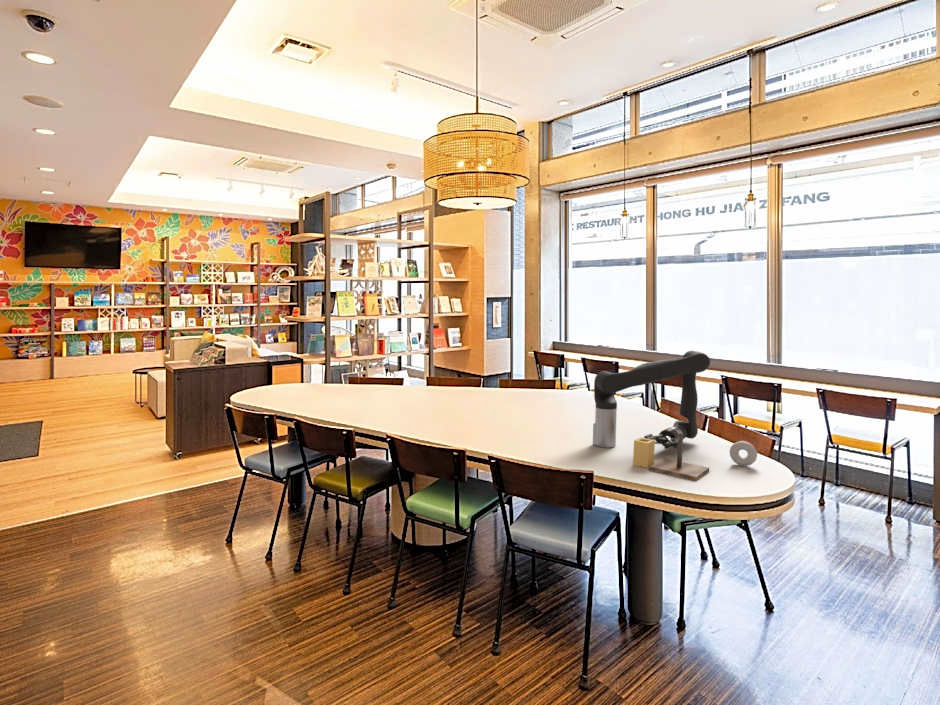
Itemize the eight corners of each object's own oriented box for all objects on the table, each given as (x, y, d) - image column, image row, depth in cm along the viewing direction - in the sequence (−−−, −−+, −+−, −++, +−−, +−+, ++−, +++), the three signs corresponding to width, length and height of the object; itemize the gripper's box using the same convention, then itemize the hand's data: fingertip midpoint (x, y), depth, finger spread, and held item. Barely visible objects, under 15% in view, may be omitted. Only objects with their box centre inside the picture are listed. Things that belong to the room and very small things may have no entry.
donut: (757, 467, 221) (758, 442, 220) (755, 469, 218) (757, 444, 217) (729, 462, 227) (731, 438, 226) (727, 464, 224) (729, 440, 223)
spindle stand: (648, 470, 217) (650, 432, 215) (663, 461, 227) (665, 425, 226) (695, 480, 205) (697, 441, 203) (709, 471, 215) (711, 433, 214)
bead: (633, 464, 223) (634, 440, 222) (639, 461, 228) (640, 437, 227) (647, 468, 219) (648, 443, 218) (653, 464, 224) (654, 440, 223)
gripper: (655, 425, 247) (639, 432, 235) (687, 430, 238) (672, 438, 226) (654, 441, 248) (638, 449, 236) (686, 448, 239) (671, 456, 227)
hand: (655, 444), depth 231 cm, fingers open, 8 cm apart
